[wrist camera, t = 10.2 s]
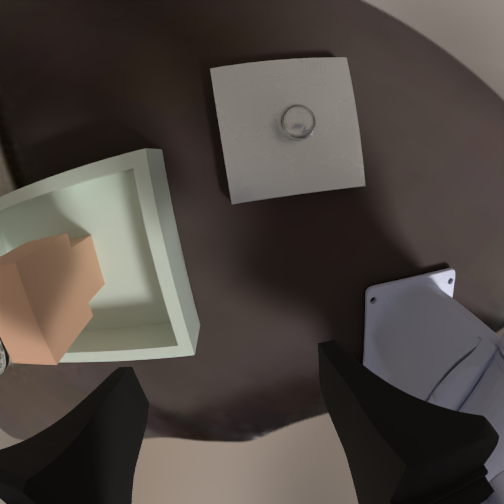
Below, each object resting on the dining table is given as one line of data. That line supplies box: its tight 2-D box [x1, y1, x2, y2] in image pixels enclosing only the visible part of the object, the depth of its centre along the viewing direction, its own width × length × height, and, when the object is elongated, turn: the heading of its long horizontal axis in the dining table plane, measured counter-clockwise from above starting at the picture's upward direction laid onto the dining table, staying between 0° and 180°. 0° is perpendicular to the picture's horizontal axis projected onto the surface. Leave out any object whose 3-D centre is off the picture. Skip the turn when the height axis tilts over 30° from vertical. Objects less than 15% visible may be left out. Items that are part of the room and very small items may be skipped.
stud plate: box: [210, 57, 365, 204], centre depth 15 cm, size 8×8×4 cm
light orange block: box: [0, 233, 105, 365], centre depth 15 cm, size 3×5×8 cm, turn 8°
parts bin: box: [0, 148, 200, 362], centre depth 17 cm, size 12×15×4 cm
